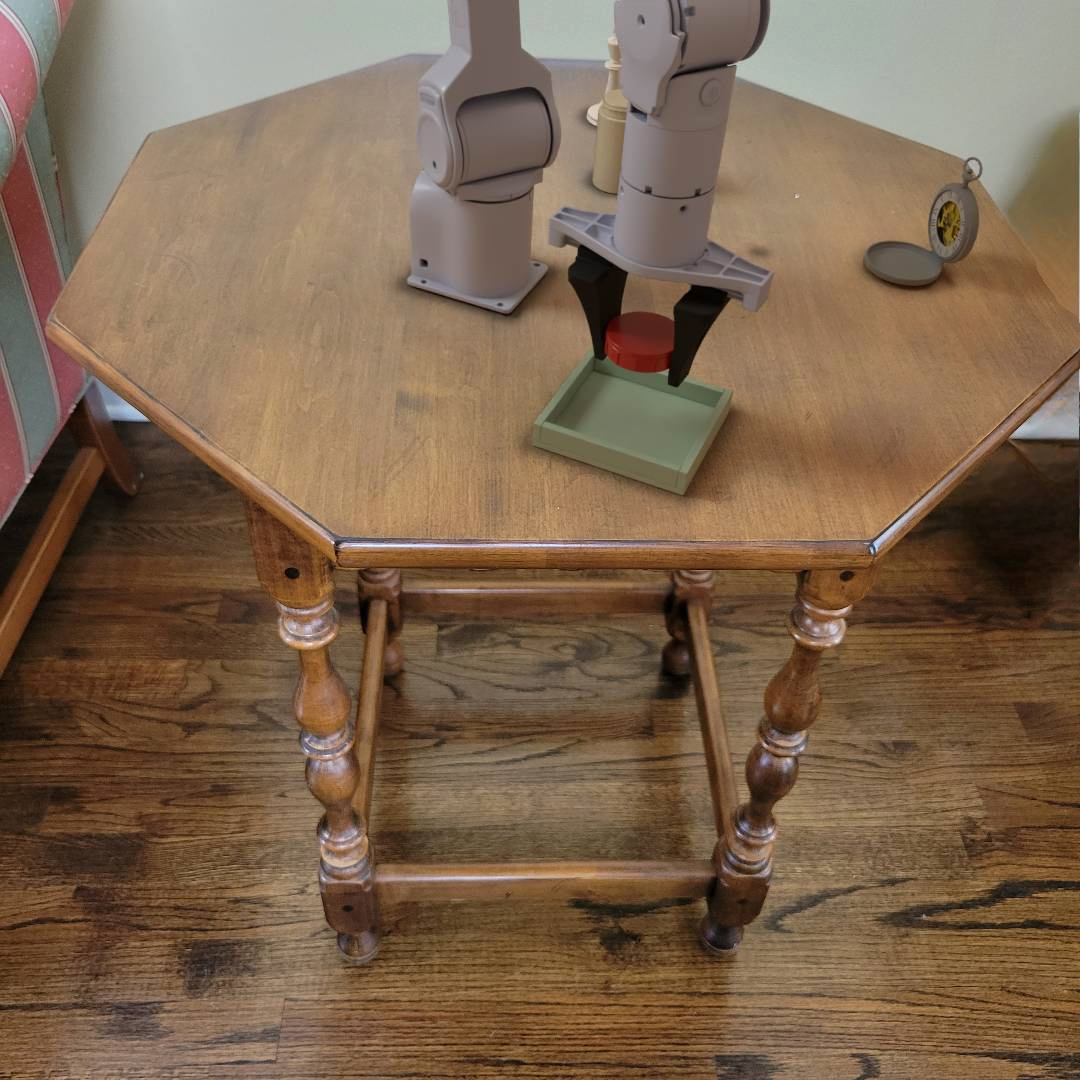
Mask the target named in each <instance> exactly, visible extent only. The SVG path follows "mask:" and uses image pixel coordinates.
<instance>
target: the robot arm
mask: <svg viewBox="0 0 1080 1080" xmlns="http://www.w3.org/2000/svg"><path fill="white" fill-rule="evenodd" d="M446 3H447V4H446V5H447V15H448V27H449V39H450V40H449V41H450V46H449V48H447V50H446V51H444V53H443V54H442V55H441V57H440V58H439V59H438V60H437V61H436V62H435V63H433V65H432V66H431V67H430V68H428V70H427V71H426V72H425V73H424V74H423V75H422V76H421V78H420V79H419V80H418V82H417V87H418V89H417V91H418V92H417V97H418V99H417V100H418V109H417V110H418V112H417V118H416V123H415V139H416V141H415V142H416V146H417V152H418V156H419V159H420V162H421V165H422V167H423V169H422V170H421V172H420V173H419V175H418V176H417V178H416V180H415V183H414V185H413V188H412V190H411V195H410V200H409V212H408V214H409V215H408V216H409V217H408V218H409V241H410V242H409V243H410V264H411V265H410V266H411V274H410V275H409V276H408V277H407V279H406V281H407V284H408V285H409V286H411V287H414V288H419V289H421V290H423V291H428V292H430V293H435V294H438V295H441V296H444V297H448V298H451V299H454V300H458V301H461V302H465V303H468V304H471V305H474V306H477V307H481V308H485V309H488V310H491V311H495V312H497V313H501V314H504V315H506V314H507V315H508V314H510V313H512V312H513V311H514V310H515V308H516V307H518V305H519V304H520V303H521V302H522V300H523V299H524V298H525V297H526V296H527V295H528V294H529V293H530V292H531V291H532V290H533V288H534V287H535V286H537V284H538V283H539V282H540V280H541V279H543V277H544V276H545V275H546V274H547V272H548V271H549V266H548V264H545V263H543V262H539V261H536V260H532V239H533V238H532V237H533V219H534V218H533V216H534V215H533V214H534V196H535V185H538V184H541V183H543V181H544V169H547V168H550V167H551V166H552V165H553V164H554V162H555V161H556V159H557V156H558V153H559V150H560V148H561V143H562V142H561V141H562V125H561V119H560V115H559V111H558V108H557V105H556V101H555V97H554V96H555V95H554V90H553V80H552V72H551V70H549V69H548V67H547V66H546V65H545V64H544V63H543V62H541V60H539V59H538V58H536V57H535V56H534V55H532V54H530V53H529V52H528V51H527V50H525V49H524V48H523V47H522V34H521V33H522V32H521V12H520V10H521V9H520V0H446ZM613 3H614V4H613V23H614V24H613V25H614V28H615V32H616V38H617V42H618V46H619V49H620V53H621V59H620V60H621V61H622V68H621V70H620V78H619V86H621V87H622V88H621V89H622V94H623V96H624V98H626V99H627V100H628V105H627V115H626V124H625V134H624V143H623V152H622V162H621V171H620V179H619V189H618V194H617V198H616V199H617V200H616V209H615V213H609V212H608V213H607V212H601V211H600V212H599V211H592V210H585V209H579V208H576V207H572V206H568V205H563V206H562V207H560V208H559V209H557V211H555V212H554V213H553V214H552V215H551V216H550V217H549V220H548V235H547V244H548V245H550V246H553V247H556V248H558V249H563V248H565V247H566V246H571V247H573V248H575V249H576V248H577V253H576V256H575V260H574V261H573V262H572V263H571V264H570V265H569V266H568V269H567V281H568V283H569V284H570V286H571V287H572V289H573V291H575V294H576V296H577V298H578V300H579V302H580V304H581V307H582V310H583V312H584V315H585V318H586V322H587V325H588V329H589V333H590V338H591V343H592V348H593V350H594V357H595V358H596V359H599V360H601V361H603V360H604V359H605V358H606V357H607V354H605V332H606V330H607V326H608V324H609V322H610V321H611V320H612V319H613V318H615V317H616V316H619V315H621V314H622V309H623V307H622V306H623V298H624V294H625V289H626V284H627V280H628V275H629V274H631V275H633V276H637V277H640V278H643V279H648V280H653V281H661V282H670V283H677V284H683V285H684V284H685V285H686V284H687V285H689V286H690V288H689V290H688V291H686V292H685V293H684V294H683V295H682V296H681V298H679V299H678V301H677V302H676V303H675V304H674V305H673V310H672V314H673V315H672V316H673V321H674V348H673V354H672V358H671V363H670V368H669V369H668V371H669V372H668V385H670V386H673V387H679V386H680V384H681V383H682V382H683V381H684V379H685V378H686V377H688V376H689V374H690V372H691V368H692V365H693V363H694V360H695V358H696V356H697V353H698V351H699V350H700V348H701V345H702V343H703V341H704V340H705V338H706V336H707V335H708V333H709V331H710V329H711V328H712V326H713V325H714V323H715V322H716V321H717V319H718V318H719V316H720V315H721V313H723V311H724V309H725V308H726V306H727V305H728V304H729V302H730V301H731V300H735V301H738V302H741V308H742V309H744V310H747V311H749V312H751V313H758V312H759V311H760V310H761V308H762V307H763V306H764V305H765V303H766V302H767V301H768V299H769V297H770V291H771V288H772V282H773V279H774V275H775V271H774V270H771V269H768V268H765V267H764V266H760V265H758V264H755V263H754V262H752V261H749V260H748V259H745V258H744V257H742V256H741V255H738V254H737V253H735V252H733V251H732V250H730V249H728V248H726V247H724V246H723V245H721V244H719V243H717V242H715V241H714V240H713V239H710V238H708V234H709V229H710V224H711V217H712V211H713V206H714V201H715V194H716V188H717V183H718V177H719V171H720V166H721V161H722V156H723V150H724V149H723V148H724V143H725V137H726V131H727V125H728V120H729V114H730V109H731V108H730V107H731V102H732V97H733V91H734V86H735V80H736V75H737V68H738V65H737V63H739V62H743V61H746V60H748V59H749V58H751V57H753V55H755V54H756V53H757V51H759V49H760V47H761V46H762V44H763V42H764V39H765V37H766V35H767V32H768V28H769V23H770V18H771V17H770V16H771V0H614V2H613Z"/></svg>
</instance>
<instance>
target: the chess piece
mask: <svg viewBox="0 0 1080 1080" xmlns="http://www.w3.org/2000/svg"><path fill="white" fill-rule="evenodd" d="M611 33H612V34H614V35H613V36H611V37H609V38H608V39H607V40H606V42H607V43H606V44H607V47H608V53H609V57H610V58H609V59H608V60H606V61H605V63H604V67H605V68H606V69H607V70H609V73H608V76H607V77H608V79H607V83H606V88H605V92H604V95H605V94H606V93H607V92H609V91H612V90H617V89H620V71H621V68H622V61H621V53H620V49H619V46H618V42H617V38H616V32H615V27H613V28H612V31H611ZM603 100H604V99H602V100H600V102H599V103H595V104H593V105H591V106H589V108H588V110H587V114H586V120H587V121H588V122H589V123H590V124H591V125H593V126H595V127H597V120H598V110H599V107H600V106H601V105H602V102H603Z"/></svg>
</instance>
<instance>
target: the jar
mask: <svg viewBox="0 0 1080 1080" xmlns="http://www.w3.org/2000/svg"><path fill="white" fill-rule="evenodd" d="M602 100H603V102H602V105H601V106H600V107H599V110H598V120H597V126H596V134H595V142H594V143H595V144H594V154H593V158H594V159H593V166H592V176H591V177H592V178H591V182H592V184H593V186H594V187H595V188H596V189H598V190H600V191H602V192H605V193H609V194H613V195H618V189H619V179H620V171H621V162H622V152H623V143H624V134H625V124H626V115H627V105H628V100H627V99H626V98H624V96H623V94H622V88H619V89H617V90H612V91H609V92H607V93H606V94H605V93H604V95H603V99H602Z"/></svg>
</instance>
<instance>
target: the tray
mask: <svg viewBox="0 0 1080 1080" xmlns="http://www.w3.org/2000/svg"><path fill="white" fill-rule="evenodd" d="M668 372H669V370H665V371H662V372H656V373H640V372H634V371H630V370H627V369H624V368H622V367H620V366H618V365H616V364H615V363H614V362H612V361H611V360H610V359H609V358H608V356H607V357H606V358H605V359H604V360H603V361H601V360H599V359H596V358H595V357H594V350H593V347H590V348H589V349H588V350H587V352H586V353H585V355H584V356H583V357H582V359H581V360H580V361H579V362H578V364H577V365H576V366H575V368H574V369H573V370H572V372H571V373H570V374H569V376H568V377H567V379H566V380H565V381H564V382H563V384H562V385H561V386H560V388H559V389H558V390H557V391H556V393H555V394H554V395H553V397H552V398H551V399H550V400H549V402H548V404H547V405H546V406H545V408H544V409H543V410H542V412H541V413H540V414H539V415H538V416H537V418H536V419H535V421H533V428H532V446H534V447H536V448H538V449H539V448H540V449H543V450H545V451H549V452H551V453H554V454H556V455H557V454H558V455H560V456H563V457H567V458H569V459H573V460H575V461H579V462H581V463H583V464H587V465H591V466H592V467H596V468H600V469H601V470H606V471H608V472H611V473H614V474H618V475H619V476H624V477H626V478H629V479H633V480H635V481H638V482H641V483H645V484H647V485H650V486H653V487H656V488H658V489H662V490H665V491H668V492H671V493H674V494H676V495H680V496H684V495H685V493H686V491H687V489H688V488H689V486H690V484H691V482H692V481H693V479H694V477H695V475H696V473H697V471H698V469H699V467H700V465H701V464H702V463H703V460H704V458H705V457H706V455H707V453H708V451H709V450H710V448H711V446H712V444H713V442H714V440H715V438H716V437H717V435H718V433H719V431H720V429H721V428H722V425H723V424H724V422H725V420H726V418H727V417H728V415H729V413H730V408H731V404H732V399H733V395H734V390H731V389H728V388H725V387H722V386H718V385H715V384H712V383H709V382H705V381H703V380H702V381H701V380H700V379H699V380H698V379H696V378H693V377H688V376H687V377H686V378H685V379H684V381H683V382H682V383H681V384H680V386H679V387H673V386H670V385H668Z"/></svg>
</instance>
